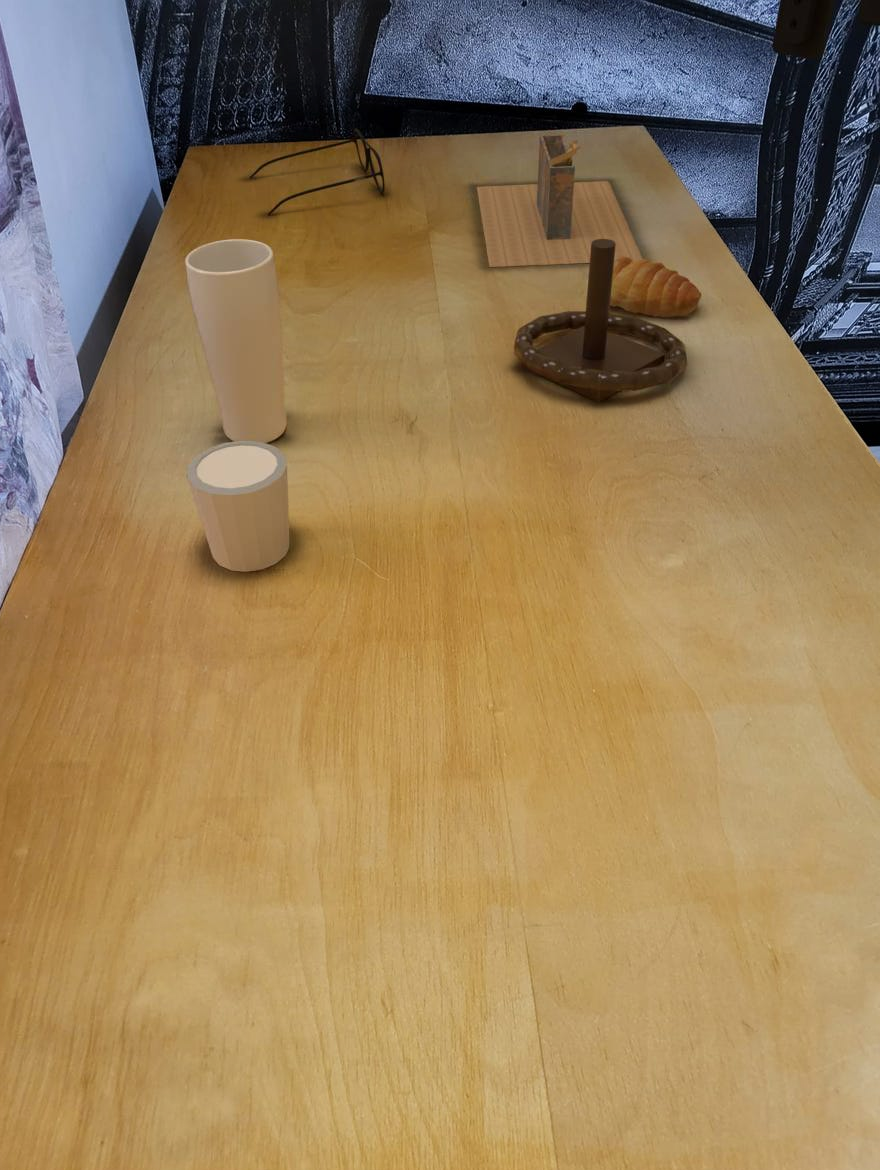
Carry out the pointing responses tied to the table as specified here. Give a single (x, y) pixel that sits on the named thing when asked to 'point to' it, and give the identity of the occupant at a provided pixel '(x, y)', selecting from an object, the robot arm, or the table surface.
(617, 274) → the pastry
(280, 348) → the drinking glass
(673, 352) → the ring
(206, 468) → the beige short cylinder
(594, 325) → the post
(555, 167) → the architectural model on board
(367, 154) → the glasses
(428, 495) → the table surface
